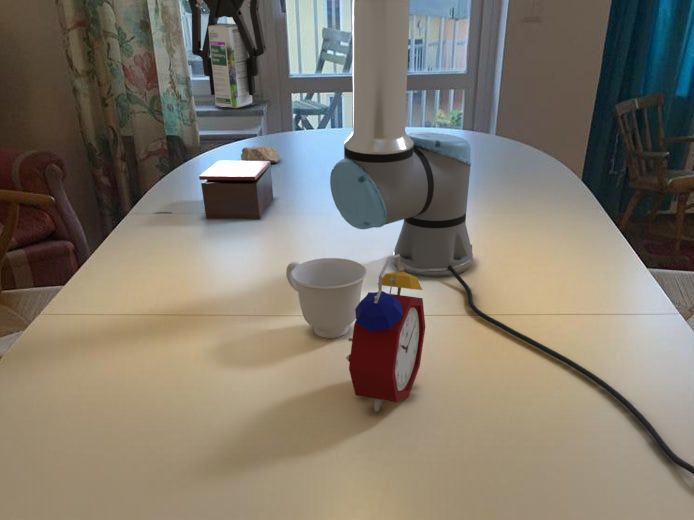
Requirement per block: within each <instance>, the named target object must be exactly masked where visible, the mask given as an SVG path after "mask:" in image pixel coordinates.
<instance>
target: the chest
mask: <svg viewBox="0 0 694 520" xmlns="http://www.w3.org/2000/svg"><path fill="white" fill-rule="evenodd" d="M271 165H272V164H271ZM271 165H270V166H269V167H268V168H267V169H266V170H265V171H264V172H263V173H262V174H261V175H260V176H259V177H258V178H257V179H256V180H202V181H201V183H200V185H201V192H202V201H203V207H204V213H205V219H208V220H209V219H210V220H211V219H212V220H215V219H216V220H219V219H220V220H261V218H262V216H263V215H264V213H265V212H266V211H267V209H268V207H269V206H270V205H271V203H272V202H273V200H274V191H273V179H272V166H271Z"/></svg>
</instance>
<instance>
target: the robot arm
mask: <svg viewBox="0 0 694 520" xmlns="http://www.w3.org/2000/svg"><path fill="white" fill-rule="evenodd" d="M244 2H245V3H246V6H247V8H249V15H250V20H251V25H252V29H253V34H254V39H255V43H254V41H253V38H252V36H251V33H250V30H249V28H248V26H247V24H246V21H245V20H244V19H245V18H244V16H243V15H244V14H243V12H242V10H241V8H242V7H243V4H244ZM203 3H204V4H205V5H206V7H207V8H208V10H209V14H208V18H207V25H206V30H205V35H204V40H203V44H202V8H203ZM188 4H189V7H190V11H191V53H192V55H194V56H197V57H199V58H201V61H202V67H203V69H202V70H203V75H204V76H205V77H208V79H209V89H210V95H211V96H215V90H214V80H213V71H212V62H211V54H210V41H209V31H208V27H209V26H212V25H215V24H216V23H219V22H218V21H219V19H220V18H221V19H222V18H224V17H226V18H232V20H233V23H234V24H236V25H237V27H238V30H239V33H240V35H241V37H242V40H243V42H244V44H245V47H246V49H247V52H248V54H249V57H248V58H247V59H246V65H247V76H248V87H249V95H252V96H254V95H255V94H256V81H255V77H258V75H259V71H260V69H259V60H258V58H259V56H261V55H264V54H265V53H266V52H267V46H266V41H265V37H264V36H265V35H264V31H263V26H262V21H261V15H260V11H259V8H260V0H188ZM410 12H411V0H352V132H351V134H350V135H349V136H348V137H347V138H346V139H345V141H344V142H343V150H344V151H343V158H342V159H340V160H339V161H337V162H336V163H334V166H333V168H332V169H331V172H330V178H329V184H330V185H329V186H330V193H331V196H332V200H333V202H334V206H335V208H336V210H338V212H339V213H340V216H341V218H343V220H344V221H346V222H347V224H349V225H350V226H351V227H353V228H355V229H358V230H368V229H373V228H378V229H379V228H382V227H384V226H387V225H389V224H392V223H396V222H400V221H403V223H402V226H401V230H400V232H399V235H398V238H397V241H396V244H395V247H394V249H393V255H398V254H400V268H401V266H404V270H403V272H406V273H408V274H410V275H412V276H416V277H425V278H426V277H427V278H442V277H443V278H444V277H450V276H454V278H455V279H456V280H457V281H458V282H459V284H460V285H461V286H462V287H463V288H464V290H465V292H466V293H467V298H468V299H467V300H468V305H469V307H470V309H471V310H472V311H473V313H475V314H476V315H477V316H478V317H480V318H481V319H483V320H485V321H487V322H489V323H491V324H492V325H494V326H496V327H498V328H500V329H502V330H503V331H504V332H506V333H509V334H510V335H512V336H514V337H515V338H518V339H520V340H522V341H524V342H526V343H527V344H529V345H530V346H533V347H535V348H536V349H538V350H540V351H542V352H544V353H546V354H548V355H550V356H552V357H554V358H555V359H557V360H559V361H560V362H563V363H564V364H566V365H568V366H570V367H571V368H573V369H574V370H576V371H578V372H579V373H581V374H582V375H584V376H585V377H587V378H589V379H590V380H592V381H593V382H595V383H596V384H597V385H599V386H600V387H602V388H603V389H604V390H605V391H606V392H608V393H609V394H611V395H612V396H613V397H614V398H615V399H616V400H617V401H618V402H620V403H621V404H622V405H623V406H624V407H625V408H626V409H627V410H628V411H629V412H630V413H631V414H632V415H633V416H634V417H635V418H636V419H637V420H638V421H639V422H640V423H641V424H642V426H643V427H644V428H645V429H646V430H647V432H648V433H649V434H650V435H651V437H652V438H653V439H654V440H655V442H656V444H657V445H658V447H659V448H660V449H661V450H662V451H663V452H664V454H665V455H666V456H667V457H668V458H669V459H670V460H671V462H673V463H675V464H676V465H677V466H679V467H681V468H682V469H684V470H686V471H688V472H689V473H691V474H692V475H693V476H694V466H693V465H692V464H690V463H688V462H687V461H685V460H683V459H682V458H680V457H679V456H678V455H676V454H675V452H674V451H673V450H672V449H671V448H670V447H669V446H668V444H667V443H666V442H665V441H664V440H663V439H662V437H661V435H660V434H659V433H658V432H657V430H656V429H655V427H653V425H652V424H651V423H650V421H649V420H648V419H647V418H646V417H645V416H644V415H643V414H642V413H641V412H640V411H639V410H638V409H637V408H636V407H635V406H634V405H633V404H632V403H631V402H630V401H629V400H628V399H627V398H626V397H625V396H623V395H622V394H621V393H619V392H618V391H617V390H616V389H615V388H614V387H612V386H611V385H610V384H608V383H607V382H606V381H604V379H601V378H600V377H598V376H597V375H596V374H594V373H593V372H591V371H590V370H588V369H586V368H585V367H583V366H581V365H579V364H578V363H576V362H575V361H573V360H572V359H570V358H568V357H566V356H564V355H563V354H560V353H559V352H557V351H555V350H553V349H552V348H550V347H548V346H545V345H544V344H542V343H540V342H539V341H536V340H534V339H532V338H530V337H529V336H527V335H524V334H523V333H521V332H519V331H517V330H515V329H513V328H511V327H510V326H508V325H506V324H504V323H502V322H501V321H499V320H497V319H495V318H493V317H491V316H489V315H488V314H486V313H485V312H483V311H482V310H480V309H479V308H478V307H477V306H476V305H475V303H474V299H473V298H474V297H473V292H472V290H471V288H470V287H469V285H468V284H467V283H466V281H465V280H464V279H463V278H462V277H461V276H460V274H461V273H464V272H466V271H468V270H469V269H470V268H471V267H472V265H473V257H474V254H473V245H472V244H471V240H470V235H469V233H468V227H467V223H466V222H467V211H468V209H467V208H468V198H469V187H470V175H471V166H472V162H471V150H472V149H471V145H470V142H469V141H468V140H467V139H465V138H464V137H461V136H457V135H453V134H448V133H439V132H430V131H429V132H428V131H418V132H417V131H415V132H414V131H413V132H410V133H408V134H407V132H406V119H407V118H406V117H407V116H406V115H407V114H406V113H407V93H408V92H407V90H408V89H407V87H408V85H407V84H408V63H409V41H410V40H409V38H410V15H411V14H410ZM255 45H256V46H255ZM392 261H393V265H394V267H395V268H396V269H397V258H395V259H392Z"/></svg>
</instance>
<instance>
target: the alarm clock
mask: <svg viewBox="0 0 694 520" xmlns="http://www.w3.org/2000/svg"><path fill="white" fill-rule="evenodd" d="M395 258H397V268H396V269H397V271H394V272H387V273H385V272H386V270H387V268H388V266H389V265H390V262H391V260H393V259H395ZM403 270H404V266H401V268H400V254H398V255H394V254H393V255H389V256H388V258H387V259H386V261H385V263H384V265H383V267H382V269H381V271H380V273H379V274H378V283H377V285H378V290H377V291H375V292H373V291H372V292H370V291H367V294H366V296H365V297H364V298H362V300H360V303H359V304H358V306H357V307H356V309H355V313H356V319H355V320H354V322H353V323H354V324H353V330H352V337H348V338H347V340H348V342H351V347H350V354H348V355H347V356H346V357H345V359H346V360H347V361H348V364H349V365H348V371H349V375H350V379H351V382H352V387H353V391H354V395H355V396H358V397H364V398H370V399H374V412H377V413H378V412H379V411H380V408H381V406H382V404H383V401H386V402H392V403H399V402H401V401H404V400H405V399H408V398H409V396H410V394H411V391H412V389H413V386H414V384H415V380H416V377H417V375H418V372H419V370H420V367H421V361H422V352H423V347H424V341H425V333H426V317H425V309H424V300H423V297H416V296H409V295H403V294H401V291H402V289H408V290H417V291H423V288H422V286H421V283H420V281H419V279H418V276H416V275H412V274H408V273H406V272H403ZM383 286H385V287H390V288H389V293H388V292H386V291H383ZM393 288H397V291H396V293H395V294H394V293H392V290H393ZM342 339H343V340H346V338H344V337H342Z"/></svg>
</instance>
